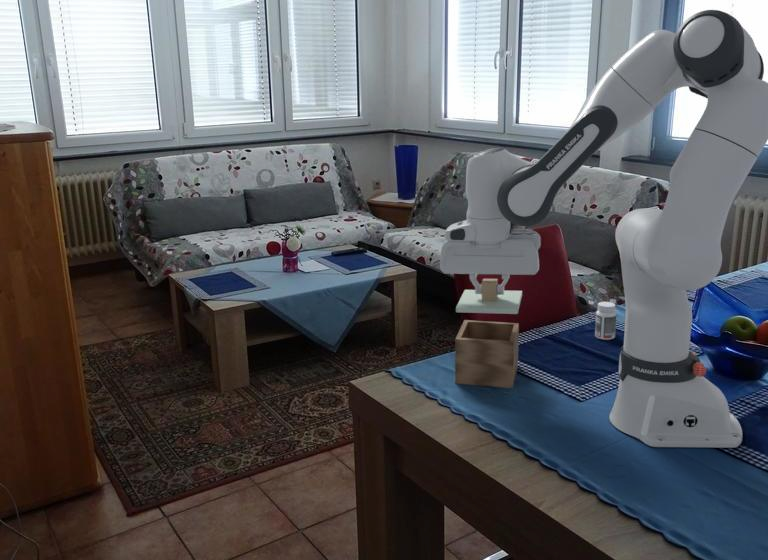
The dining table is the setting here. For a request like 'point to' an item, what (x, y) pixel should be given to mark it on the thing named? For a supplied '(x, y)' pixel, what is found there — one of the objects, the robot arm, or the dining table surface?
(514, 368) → the box
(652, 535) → the dining table surface
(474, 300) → the lid
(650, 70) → the robot arm
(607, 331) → the pill bottle
